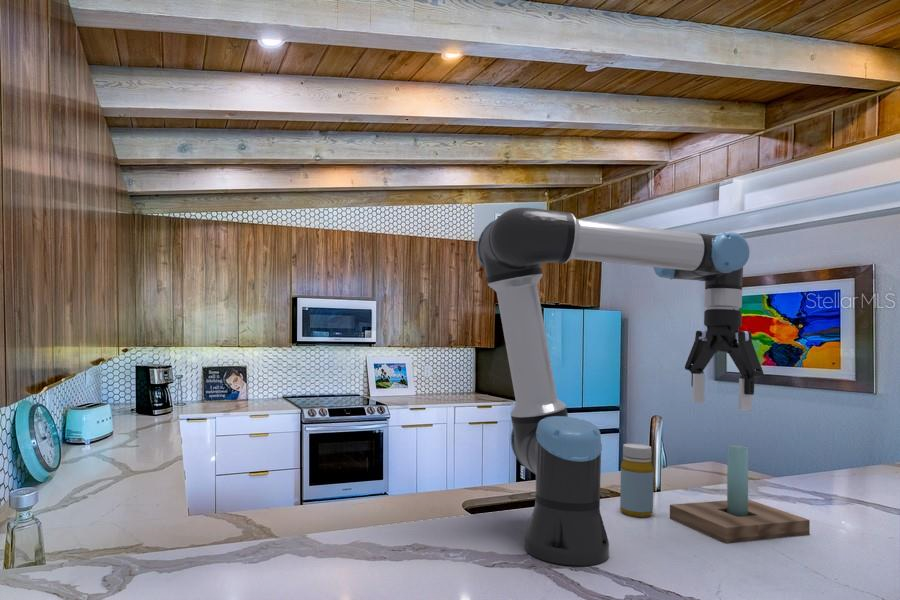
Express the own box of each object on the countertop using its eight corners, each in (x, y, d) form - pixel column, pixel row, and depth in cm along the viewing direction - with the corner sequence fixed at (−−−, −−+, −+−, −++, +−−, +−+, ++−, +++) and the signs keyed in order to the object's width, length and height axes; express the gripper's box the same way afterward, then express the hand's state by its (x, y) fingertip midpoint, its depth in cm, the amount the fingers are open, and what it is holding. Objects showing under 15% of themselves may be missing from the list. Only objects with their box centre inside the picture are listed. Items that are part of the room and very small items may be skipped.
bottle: (654, 519, 128) (655, 449, 129) (621, 516, 130) (622, 447, 131) (650, 510, 135) (651, 444, 136) (619, 507, 137) (620, 442, 138)
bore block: (725, 543, 114) (725, 527, 115) (669, 518, 130) (669, 504, 130) (809, 534, 122) (809, 520, 122) (747, 512, 137) (747, 499, 137)
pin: (737, 526, 123) (737, 448, 124) (722, 520, 127) (723, 445, 128) (752, 524, 124) (752, 448, 125) (737, 519, 128) (737, 444, 129)
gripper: (784, 308, 119) (782, 414, 118) (696, 311, 143) (694, 399, 141) (755, 306, 117) (752, 413, 115) (670, 309, 140) (668, 399, 139)
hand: (720, 406), depth 128 cm, fingers open, 13 cm apart
